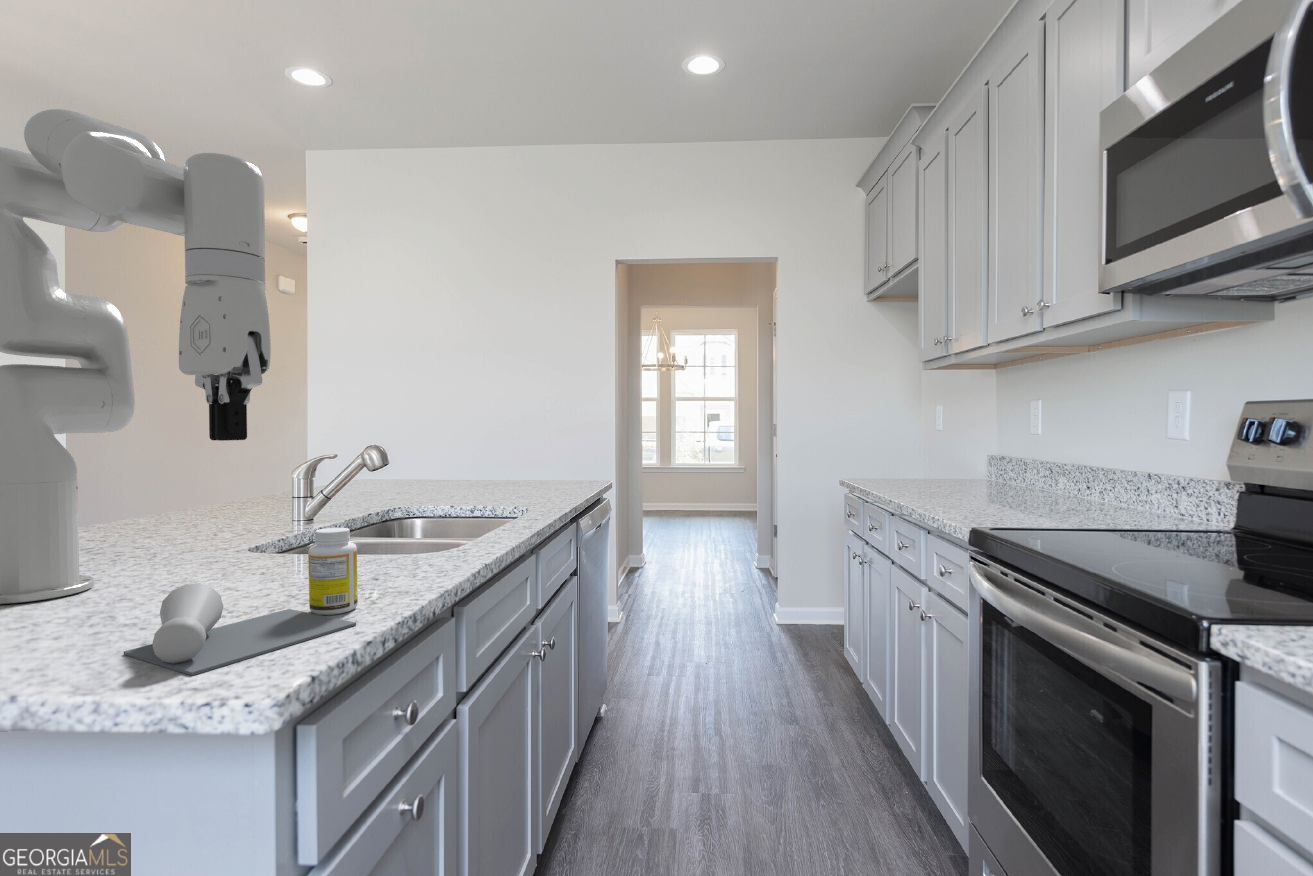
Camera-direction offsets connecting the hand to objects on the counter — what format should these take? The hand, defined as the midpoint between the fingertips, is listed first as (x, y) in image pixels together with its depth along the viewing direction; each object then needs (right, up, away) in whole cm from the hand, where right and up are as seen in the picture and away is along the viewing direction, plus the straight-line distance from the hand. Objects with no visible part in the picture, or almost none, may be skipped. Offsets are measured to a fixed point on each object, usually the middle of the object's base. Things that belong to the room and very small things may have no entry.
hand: (228, 439), depth 76 cm
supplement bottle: (+7, -22, +11) cm, 25 cm away
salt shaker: (-5, -18, +2) cm, 19 cm away
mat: (+3, -22, -1) cm, 22 cm away
